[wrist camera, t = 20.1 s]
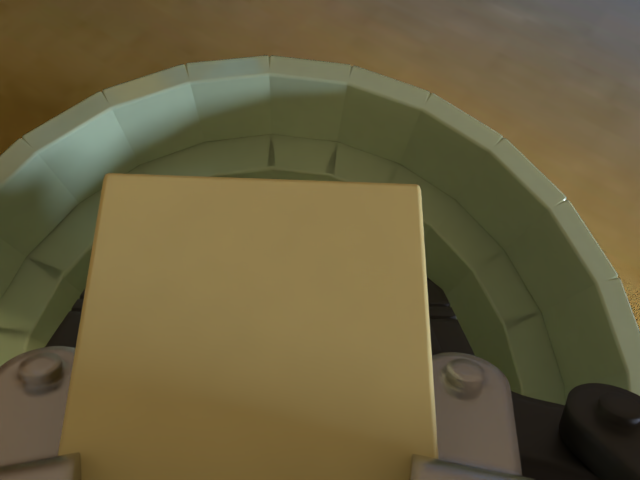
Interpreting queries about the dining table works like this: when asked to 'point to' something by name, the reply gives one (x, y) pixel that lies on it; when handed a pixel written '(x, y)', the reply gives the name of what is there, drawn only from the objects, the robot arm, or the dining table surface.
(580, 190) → the dining table surface
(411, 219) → the butter stick
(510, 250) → the bowl
